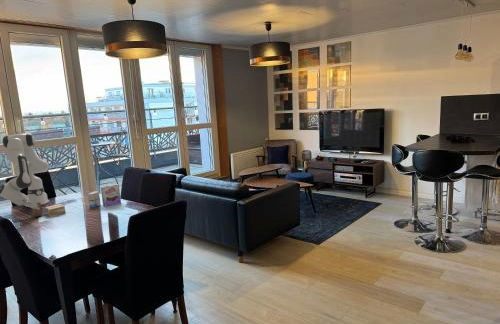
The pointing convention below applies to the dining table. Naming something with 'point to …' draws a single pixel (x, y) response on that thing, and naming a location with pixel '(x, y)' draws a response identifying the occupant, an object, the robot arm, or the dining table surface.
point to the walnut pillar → (37, 212)
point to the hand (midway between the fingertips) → (37, 208)
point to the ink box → (94, 199)
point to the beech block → (55, 210)
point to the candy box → (110, 195)
